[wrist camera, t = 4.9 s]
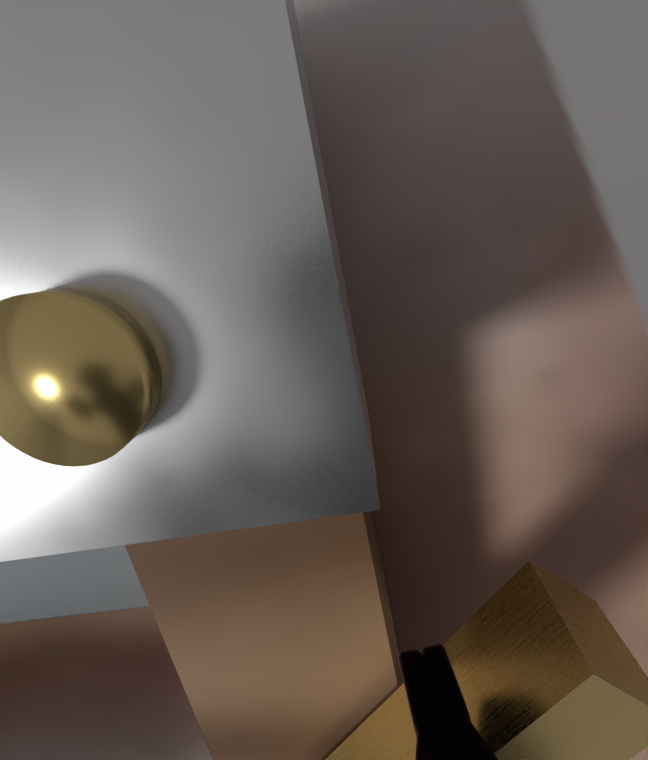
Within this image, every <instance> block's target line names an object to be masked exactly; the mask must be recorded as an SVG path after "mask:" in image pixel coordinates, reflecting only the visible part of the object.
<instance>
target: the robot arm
mask: <svg viewBox="0 0 648 760" xmlns="http://www.w3.org/2000/svg"><path fill="white" fill-rule="evenodd" d="M398 659H399V663H400V668H401V672H402V677H403V681H404V685H405V690H406V694H407V699H408V703H409V708H410V712H411V717H412V721H413V725H414V730H415V734H416V738H417V741H416V757H415V760H498V758H497V757H496V756H495V754H494V753H493V751H492V750H491V749H490V747H489V746H488V745H487V743H486V742H485V740H484V739H483V738H482V736H481V735H480V734H479V732H478V731H477V729H476V728H475V727H474V725H473V724H472V723H471V719H470V715H469V712H468V709H467V706H466V703H465V700H464V697H463V695H462V692H461V690H460V687H459V684H458V682H457V679H456V676H455V674H454V671H453V668H452V666H451V663H450V660H449V658H448V655H447V652H446V650H445V648H444V646H443V645H440V644H439V645H434V646H430V647H425V648H424V649H423V652H422V654H421V653H420V652H419V651H418V650H410V651H405V652H401V653H400V654H399V655H398Z"/></svg>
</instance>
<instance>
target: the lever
mask: <svg viewBox="0 0 648 760" xmlns="http://www.w3.org/2000/svg"><path fill="white" fill-rule="evenodd" d="M443 646H444V648H445V650H446V652H447V655H448V658H449V660H450V663H451V666H452V668H453V671H454V674H455V676H456V679H457V682H458V684H459V687H460V690H461V692H462V695H463V697H464V700H465V703H466V706H467V709H468V712H469V715H470V719H471V723H472V724H473V725H474V727H475V728H476V729H477V731H478V732H479V734H480V735H481V736H482V738H483V739H484V740H485V742H486V743H487V745H488V746H489V747H490V749H491V750H492V751H493V753H494V754H495V756H496V757H497V758H498V760H629V759H631V758H632V757H634V756H635V755H636V754H638V753H639V752H641V751H642V750H644V749H645V748H646V747H648V677H647V676H646V674H645V673H644V671H643V670H642V668H641V667H640V665H639V664H638V662H637V661H636V659H635V658H634V657H633V655H632V654H631V652H630V651H629V649H628V648H627V646H626V645H625V643H624V642H623V640H622V639H621V638H620V636H619V635H618V633H617V632H616V630H615V629H614V627H613V626H612V624H611V623H610V622H609V620H608V619H607V617H606V616H605V614H604V613H603V611H602V610H601V608H600V607H599V605H598V604H597V603H596V601H595V600H593V599H591V598H590V597H588V596H586V595H585V594H583V593H582V592H580V591H578V590H577V589H575V588H573V587H572V586H570V585H568V584H567V583H565V582H563V581H562V580H560V579H559V578H557V577H555V576H554V575H552V574H550V573H549V572H547V571H545V570H544V569H542V568H540V567H539V566H537V565H535V564H534V563H532V562H531V561H528V562H527V563H526V564H525V565H524V566H523V567H522V568H521V569H520V570H519V571H518V572H517V573H516V574H515V575H514V576H513V577H512V578H511V579H510V580H509V581H508V582H507V583H506V584H505V585H504V586H503V587H502V588H501V589H500V590H499V591H498V592H496V593H495V594H494V595H493V596H492V597H491V598H490V599H489V600H488V601H487V602H486V603H485V604H484V605H483V606H482V607H481V608H480V609H479V610H478V611H477V612H476V613H475V614H474V615H473V616H472V617H471V618H470V619H469V620H468V621H467V622H466V623H465V624H464V625H463V626H462V627H461V628H460V629H458V630H457V631H456V632H455V633H454V634H453V635H452V636H451V637H450V638H449V639H448V640H447V641H446V642H445V643H444V644H443ZM416 741H417V738H416V734H415V730H414V725H413V721H412V717H411V712H410V708H409V703H408V699H407V694H406V690H405V685H404V683H403V684H402V685H401V686H400V687H399V688H398V689H397V690H396V691H395V692H394V693H393V694H392V695H391V696H390V697H389V698H388V699H387V700H386V701H385V702H384V703H382V704H381V705H380V706H379V707H378V708H377V709H376V710H375V711H374V712H373V713H372V714H371V715H370V716H369V717H368V718H367V719H366V720H365V721H364V722H363V723H362V724H361V725H360V726H359V727H358V728H357V729H356V730H355V731H354V732H353V733H352V734H351V735H350V736H349V737H348V738H347V739H346V740H344V741H343V742H342V743H341V744H340V745H339V746H338V747H337V748H336V749H335V750H334V751H333V752H332V753H331V754H330V755H329V756H328V757H327V758H326V759H325V760H415V757H416Z"/></svg>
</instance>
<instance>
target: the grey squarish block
mask: <svg viewBox="0 0 648 760" xmlns="http://www.w3.org/2000/svg"><path fill="white" fill-rule="evenodd" d="M376 510H380V504H379V495H378V487H377V478H376V470H375V462H374V453H373V445H372V436H371V428H370V420H369V413H368V408H367V402H366V397H365V391H364V386H363V380H362V375H361V369H360V364H359V358H358V353H357V348H356V342H355V337H354V331H353V326H352V320H351V315H350V309H349V304H348V298H347V293H346V287H345V282H344V276H343V271H342V265H341V260H340V254H339V249H338V243H337V238H336V232H335V227H334V221H333V216H332V210H331V205H330V199H329V194H328V188H327V183H326V177H325V172H324V166H323V161H322V155H321V150H320V144H319V139H318V133H317V128H316V122H315V117H314V111H313V106H312V100H311V95H310V89H309V84H308V78H307V73H306V67H305V62H304V56H303V51H302V45H301V40H300V34H299V29H298V23H297V18H296V12H295V7H294V1H293V0H0V562H4V561H11V560H18V559H25V558H33V557H40V556H47V555H55V554H62V553H69V552H77V551H84V550H91V549H98V548H106V547H113V546H120V545H128V544H135V543H142V542H150V541H157V540H164V539H172V538H179V537H186V536H193V535H201V534H208V533H215V532H223V531H230V530H237V529H245V528H252V527H259V526H267V525H274V524H281V523H288V522H296V521H303V520H310V519H318V518H325V517H332V516H340V515H347V514H354V513H362V512H369V511H376Z"/></svg>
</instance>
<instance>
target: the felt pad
mask: <svg viewBox="0 0 648 760" xmlns="http://www.w3.org/2000/svg"><path fill="white" fill-rule="evenodd" d="M146 606H150V605H149V603H148V601H147V598H146V596H145V593H144V591H143V588H142V586H141V584H140V581H139V579H138V576H137V574H136V572H135V569H134V567H133V564H132V562H131V559H130V557H129V555H128V552H127V550H126V547H125V545H120V546H113V547H106V548H98V549H91V550H84V551H77V552H69V553H62V554H55V555H47V556H40V557H33V558H25V559H18V560H11V561H4V562H0V624H2V623H11V622H19V621H28V620H36V619H45V618H53V617H62V616H70V615H78V614H87V613H95V612H104V611H112V610H121V609H129V608H138V607H146Z"/></svg>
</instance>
